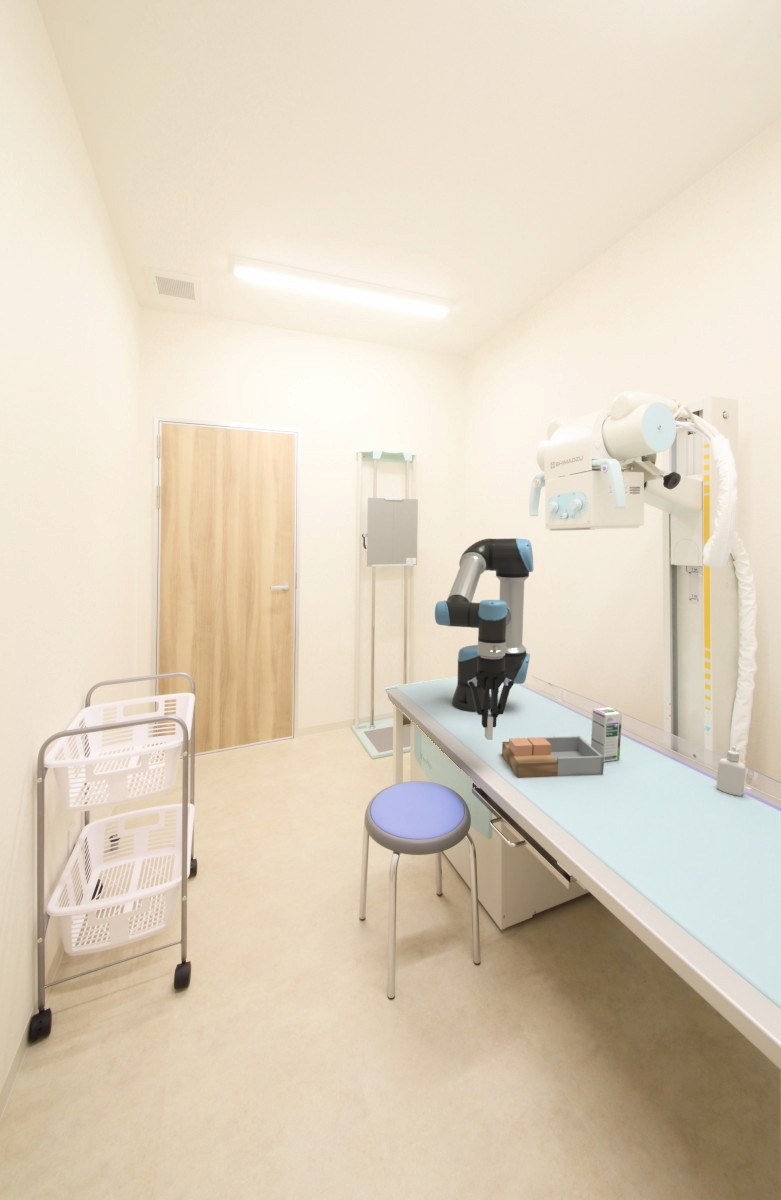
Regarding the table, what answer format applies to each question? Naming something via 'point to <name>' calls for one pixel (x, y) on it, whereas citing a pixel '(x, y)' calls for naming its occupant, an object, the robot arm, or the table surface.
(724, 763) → the eye dropper bottle
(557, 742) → the bin
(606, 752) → the syrup box
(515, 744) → the tile
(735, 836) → the table surface
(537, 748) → the tile
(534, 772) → the board
